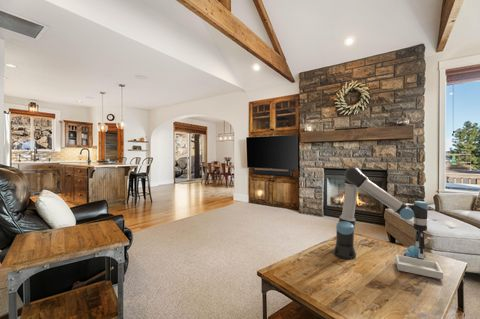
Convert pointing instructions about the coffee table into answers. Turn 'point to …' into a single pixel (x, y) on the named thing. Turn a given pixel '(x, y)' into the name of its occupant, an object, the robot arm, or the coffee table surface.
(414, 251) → the toy excavator
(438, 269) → the white tray
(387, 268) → the coffee table surface
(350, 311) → the coffee table surface
